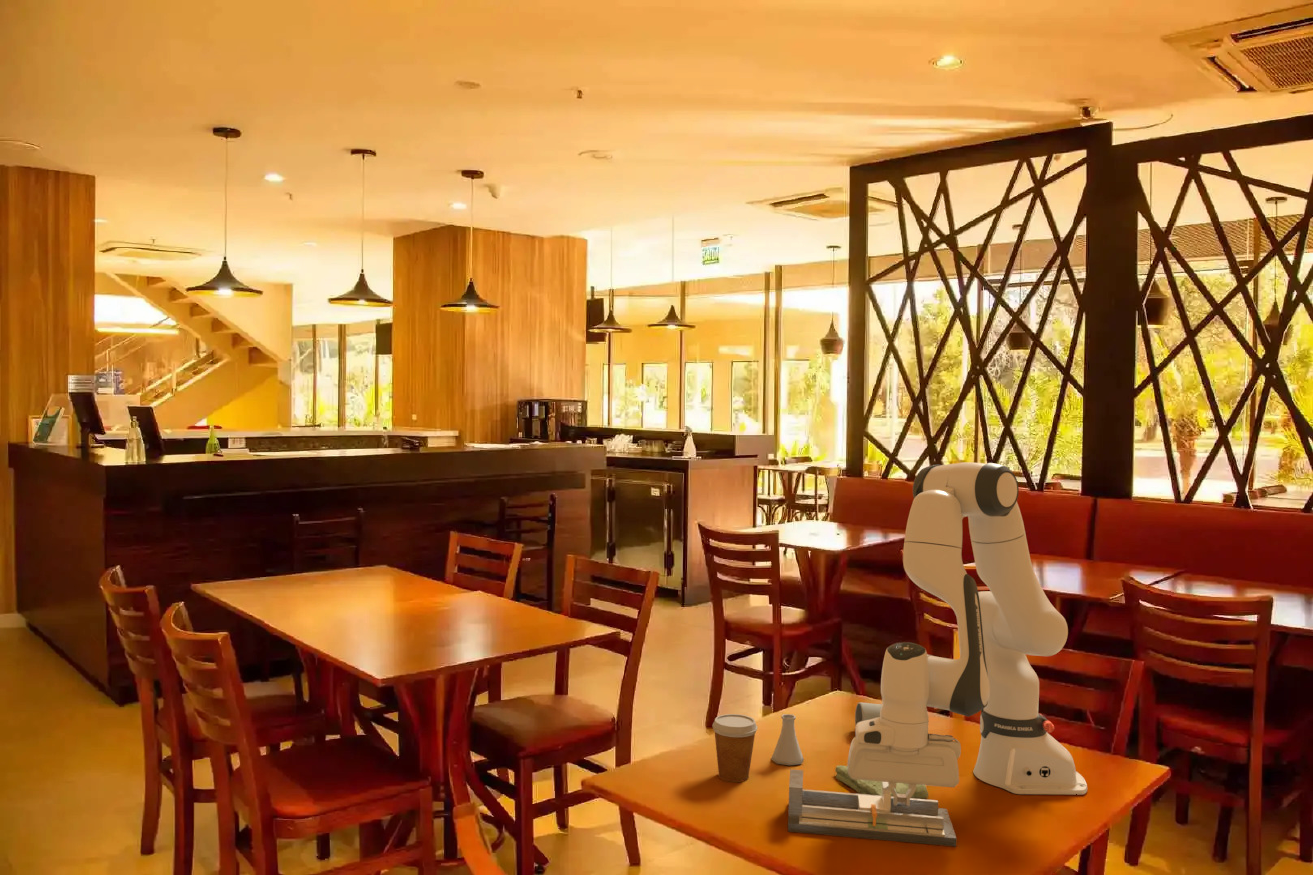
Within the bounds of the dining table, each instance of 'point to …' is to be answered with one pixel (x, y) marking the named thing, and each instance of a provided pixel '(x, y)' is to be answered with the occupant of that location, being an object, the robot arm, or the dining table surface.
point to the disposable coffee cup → (734, 745)
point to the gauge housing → (865, 817)
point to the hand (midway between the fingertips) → (901, 804)
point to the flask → (787, 744)
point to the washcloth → (876, 785)
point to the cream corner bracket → (876, 802)
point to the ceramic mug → (867, 711)
